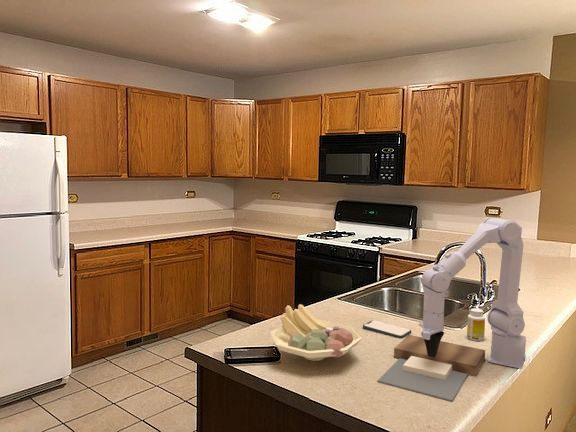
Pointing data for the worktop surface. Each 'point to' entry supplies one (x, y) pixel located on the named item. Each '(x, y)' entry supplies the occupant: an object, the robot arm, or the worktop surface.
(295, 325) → the dish with food
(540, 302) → the worktop surface
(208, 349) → the worktop surface
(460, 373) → the mat
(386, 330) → the phone case
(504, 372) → the worktop surface
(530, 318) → the worktop surface
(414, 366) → the cream flat block
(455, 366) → the brown wooden flat block
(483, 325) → the supplement bottle
